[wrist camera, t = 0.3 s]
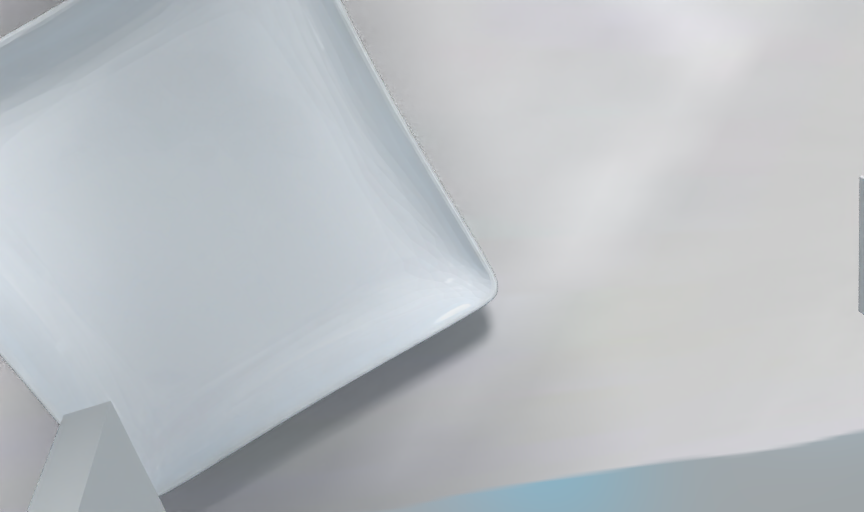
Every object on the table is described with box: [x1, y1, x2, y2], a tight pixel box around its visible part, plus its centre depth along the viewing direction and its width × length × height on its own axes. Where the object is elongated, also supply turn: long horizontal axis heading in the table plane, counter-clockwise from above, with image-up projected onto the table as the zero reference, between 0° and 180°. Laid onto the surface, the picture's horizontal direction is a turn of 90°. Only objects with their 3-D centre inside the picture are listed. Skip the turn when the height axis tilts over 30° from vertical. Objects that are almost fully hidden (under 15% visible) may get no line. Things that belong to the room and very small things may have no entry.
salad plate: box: [0, 0, 498, 496], centre depth 37 cm, size 21×21×3 cm
